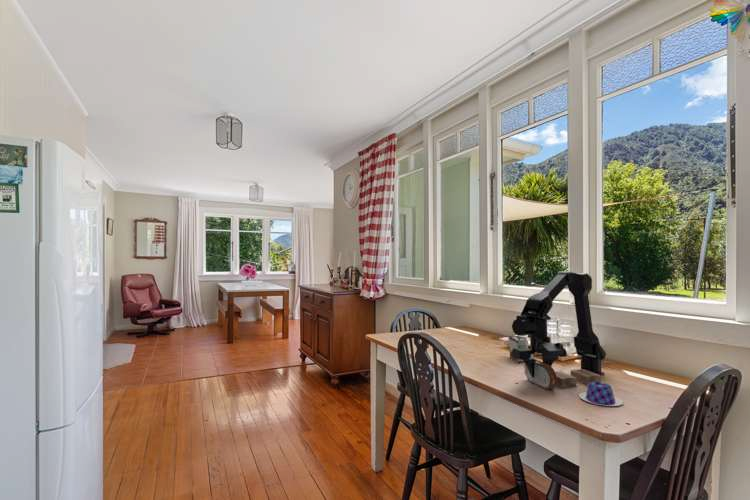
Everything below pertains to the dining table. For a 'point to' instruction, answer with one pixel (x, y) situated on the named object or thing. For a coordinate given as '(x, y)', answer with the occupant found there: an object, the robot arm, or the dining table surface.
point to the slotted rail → (576, 378)
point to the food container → (517, 345)
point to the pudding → (600, 394)
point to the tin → (542, 375)
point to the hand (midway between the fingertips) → (539, 376)
